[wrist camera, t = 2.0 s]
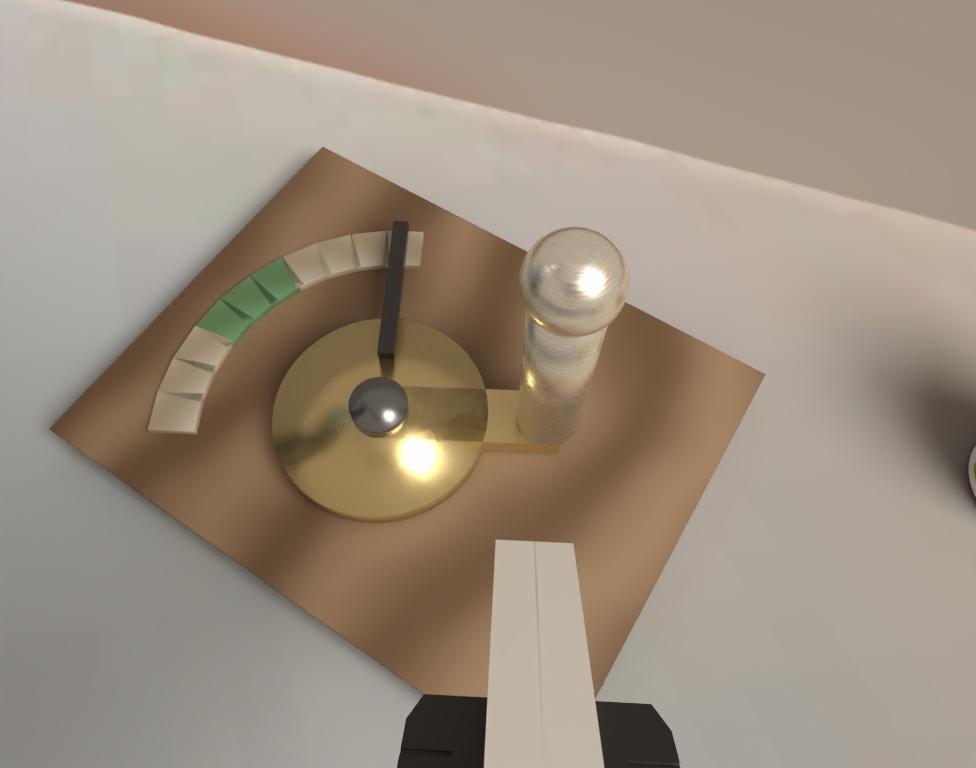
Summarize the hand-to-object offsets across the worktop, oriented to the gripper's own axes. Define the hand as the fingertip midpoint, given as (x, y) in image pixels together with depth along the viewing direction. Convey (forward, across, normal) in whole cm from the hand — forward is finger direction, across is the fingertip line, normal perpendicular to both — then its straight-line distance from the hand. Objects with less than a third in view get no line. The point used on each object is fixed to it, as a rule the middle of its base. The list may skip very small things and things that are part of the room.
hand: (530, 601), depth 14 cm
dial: (+17, -4, -2) cm, 18 cm away
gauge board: (+19, -5, -4) cm, 20 cm away
